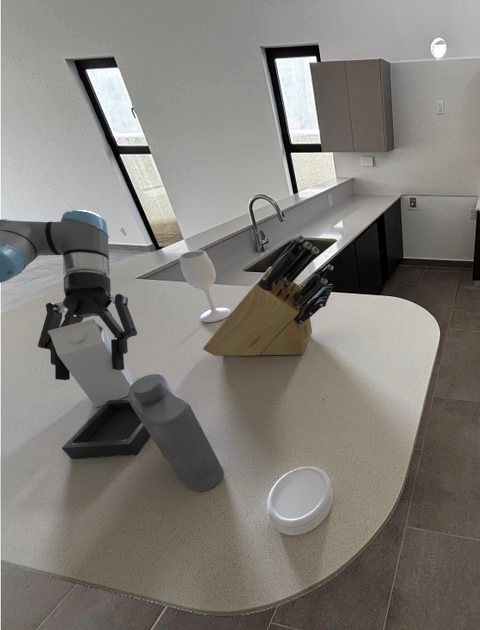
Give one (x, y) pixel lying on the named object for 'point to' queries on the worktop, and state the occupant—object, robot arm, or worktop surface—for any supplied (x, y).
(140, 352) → the worktop surface
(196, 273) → the wineglass
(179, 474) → the flask
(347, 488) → the worktop surface
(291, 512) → the coaster
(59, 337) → the milk carton
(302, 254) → the knife block
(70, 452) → the tray
